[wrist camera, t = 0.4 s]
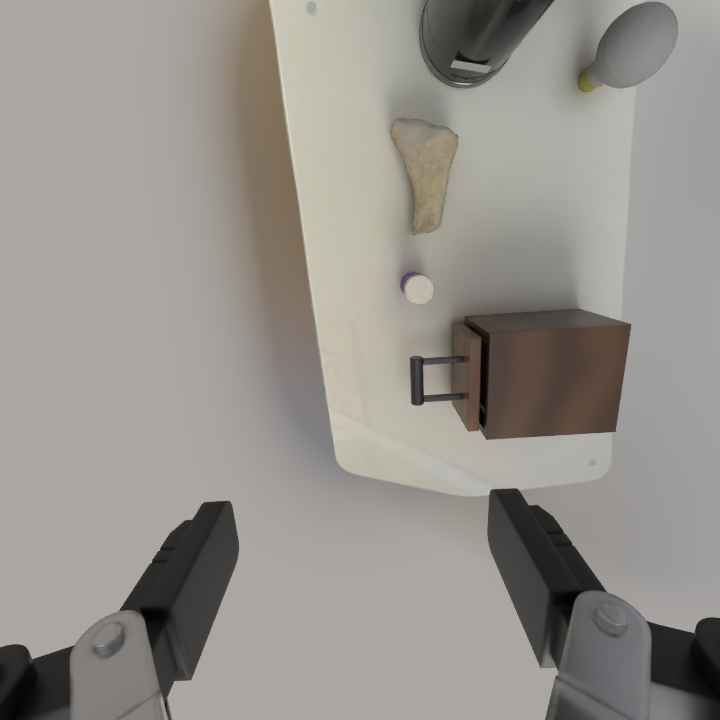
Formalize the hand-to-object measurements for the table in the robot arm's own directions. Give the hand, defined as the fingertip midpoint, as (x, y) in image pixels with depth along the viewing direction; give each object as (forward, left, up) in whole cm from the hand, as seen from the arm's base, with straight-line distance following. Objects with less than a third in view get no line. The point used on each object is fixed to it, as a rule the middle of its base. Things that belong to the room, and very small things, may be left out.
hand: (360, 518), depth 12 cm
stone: (-14, +7, -35) cm, 39 cm away
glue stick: (-3, +6, -35) cm, 36 cm away
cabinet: (+7, +19, -35) cm, 41 cm away
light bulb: (-22, +24, -35) cm, 48 cm away
